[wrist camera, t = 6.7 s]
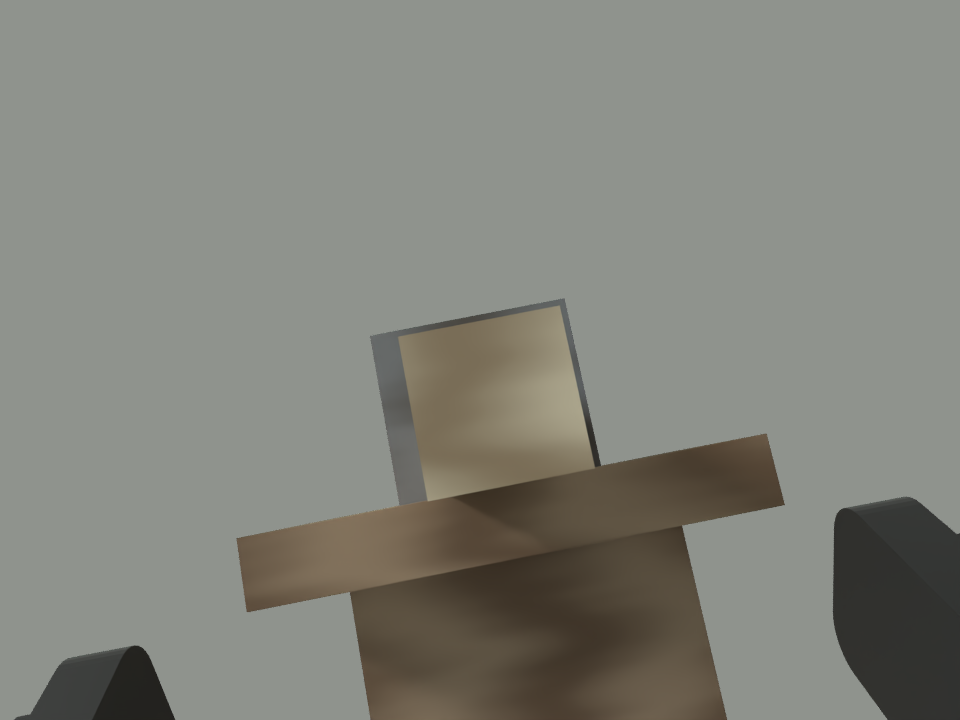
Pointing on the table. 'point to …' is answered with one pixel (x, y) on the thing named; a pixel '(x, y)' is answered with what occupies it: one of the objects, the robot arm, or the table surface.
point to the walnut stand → (529, 590)
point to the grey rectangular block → (484, 402)
